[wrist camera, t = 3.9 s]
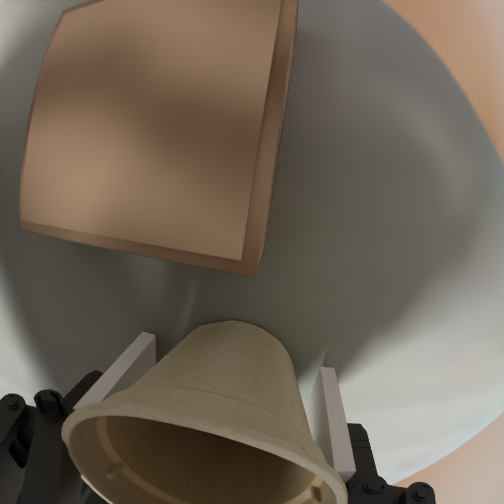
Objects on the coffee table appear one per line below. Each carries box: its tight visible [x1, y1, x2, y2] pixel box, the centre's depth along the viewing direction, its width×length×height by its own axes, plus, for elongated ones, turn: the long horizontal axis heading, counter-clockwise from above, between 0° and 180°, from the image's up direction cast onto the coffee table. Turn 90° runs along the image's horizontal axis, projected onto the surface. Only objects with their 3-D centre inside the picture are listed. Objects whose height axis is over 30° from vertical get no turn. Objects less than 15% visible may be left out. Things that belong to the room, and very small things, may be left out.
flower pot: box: [61, 320, 348, 504], centre depth 10 cm, size 9×9×9 cm
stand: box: [19, 0, 298, 277], centre depth 10 cm, size 11×11×4 cm
